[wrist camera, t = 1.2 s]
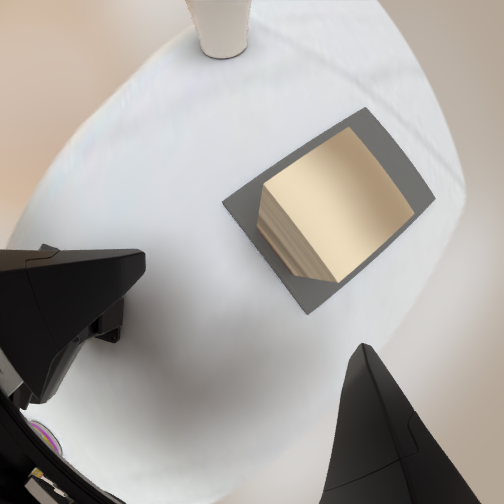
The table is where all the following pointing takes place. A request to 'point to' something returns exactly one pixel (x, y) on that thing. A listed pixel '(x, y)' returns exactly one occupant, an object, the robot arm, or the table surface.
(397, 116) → the table surface
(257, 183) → the mat
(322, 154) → the block
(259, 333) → the table surface
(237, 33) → the drinking glass
